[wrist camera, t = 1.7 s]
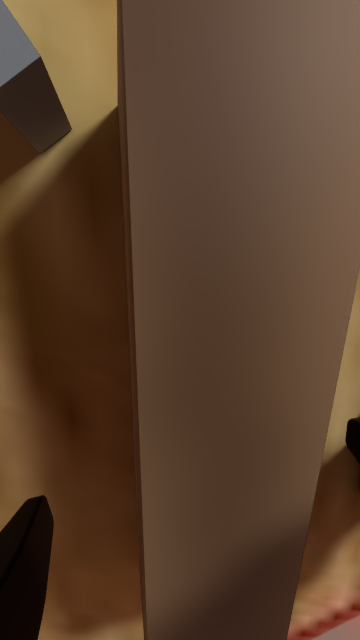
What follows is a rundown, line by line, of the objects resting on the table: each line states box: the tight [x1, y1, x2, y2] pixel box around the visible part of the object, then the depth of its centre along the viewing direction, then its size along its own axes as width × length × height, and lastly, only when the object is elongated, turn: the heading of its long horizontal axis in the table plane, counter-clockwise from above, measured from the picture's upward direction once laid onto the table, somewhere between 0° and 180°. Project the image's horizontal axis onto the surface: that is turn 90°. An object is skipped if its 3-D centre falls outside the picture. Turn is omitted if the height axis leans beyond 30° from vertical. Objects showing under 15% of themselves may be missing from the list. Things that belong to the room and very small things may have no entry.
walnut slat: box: [117, 0, 360, 640], centre depth 9 cm, size 4×20×6 cm, turn 0°
